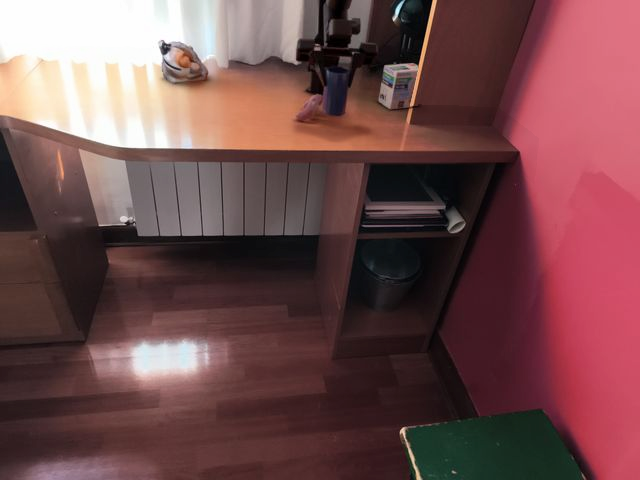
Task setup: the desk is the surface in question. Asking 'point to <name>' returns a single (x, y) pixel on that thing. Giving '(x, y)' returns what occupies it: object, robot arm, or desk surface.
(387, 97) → the light bulb box
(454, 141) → the desk surface
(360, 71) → the desk surface
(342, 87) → the pencil cup
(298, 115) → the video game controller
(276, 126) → the desk surface
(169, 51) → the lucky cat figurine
